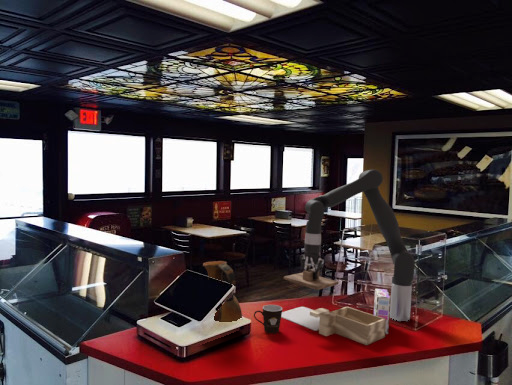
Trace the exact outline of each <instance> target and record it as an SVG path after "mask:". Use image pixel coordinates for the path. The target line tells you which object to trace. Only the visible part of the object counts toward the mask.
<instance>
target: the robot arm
mask: <svg viewBox="0 0 512 385" xmlns="http://www.w3.org/2000/svg"><path fill="white" fill-rule="evenodd" d="M383 180H384V177H383V174H382V173H381V172H380V170H377V169H373V168H371V169H369V170H364V171H362V172H360V174H359V176H358V179H356V180H353V181H352V182H348V183H347V184H344V185H342V186H341V185H340V186H339V187H337V188H335V189H332V190H330V191H329V192H327V193H325V194H323V195H320V196H317V197H314V198H311V199H310V200H308V201H307V202H306V203H305V205H304V209H305V212H306V213H307V214H308V215H309V218H308V220H307V221H306V224H305V236H304V248H303V249H304V251H303V252H304V254H300V255H299V260H300V265H301V268H302V269H304V271H305V270H310V268H311V267H312V269H313V271H314V272H313V280H316V279H317V277H318V271H319V272H321V271H322V270H323V268H324V265H325V259H322V258H321V256H320V253H321V248H322V246H321V245H322V223H323V219H324V215H325V209H329V208H333V207H335V206H337V205H339V204H341V203H344V202H345V201H347V200H349V199H351V198H352V197H355V196H356V195H359V194H361V193H363V194H364V196H365V198H366V199H367V202H368V204H369V207H370V209H371V211H372V214H373V217H374V219H375V221H376V223H377V224H376V225H377V228H378V229H379V231H380V232H381V235H382V237H383V239H384V241H385V242H386V244H387V247H388V251H389V253H390V257H391V260H392V264H393V265H394V267H393V275H392V276H391V286H390V287H391V290H390V298H391V299H390V312H389V319H391V318H392V319H391V320H393V319H394V320H393V321H396V320H397V321H396V322H401V321H406V322H409V321H410V318H411V307H412V288H413V287H412V286H413V280H414V278H415V277H414V275H415V265H416V264H415V257H414V256H413V254H412V253H411V252H409V251H408V249H407V247H406V245H405V243H404V242H403V239H402V236H401V231H400V227H399V222H398V219H397V217H396V215H395V212H394V210H393V209H392V207H391V205H390V204H389V203H388V202H387V201H386V200H385V199H384V197H383V196H382V194H381V191H380V189H379V187H380V186H381V185H382V183H383ZM408 320H409V321H408Z"/></svg>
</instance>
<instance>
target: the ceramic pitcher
mask: <svg viewBox="0 0 512 385" xmlns="http://www.w3.org/2000/svg"><path fill="white" fill-rule="evenodd" d="M202 267H204V269H205V270H206V272H207V275H208V276H209V277H208V276H207V277H208V279H209V278H210V277H212V278H215V279H218V280H221V281H223V282H224V280H223V274H224V275H225V277H226V281H227V284H228V283H230V284H233V285H234V286H235V287H236V283H237V281H236V275H235V272H234V270H233V268H232V267H231V266H230V265H229V264H228V262H227V261H224V260H217V261H215V260H214V261H206V262H203V263H202ZM240 318H242V319H243V312H242V308H241V305H240V302H239V301H238V299H237V297H236V296H235V295H234V294H233V297H232V298H230V299H229V300H227V301H226V302H225V303H224V304H223V305H222V306H221V307H220V308H219V310H218V311H217V312H216V313H215V316H214V320H215V321H219V322H232V321H237V320H238V319H240Z"/></svg>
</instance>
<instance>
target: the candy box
mask: <svg viewBox="0 0 512 385" xmlns="http://www.w3.org/2000/svg"><path fill="white" fill-rule="evenodd" d="M390 303H391V294H390V293H389V291H388V289H386V288H385V289H384V288H375V289H374V302H373V315H375V316H378V317H382V318H385V319H386V327H385V335H388V334H389V325H390Z"/></svg>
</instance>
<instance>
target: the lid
mask: <svg viewBox="0 0 512 385" xmlns="http://www.w3.org/2000/svg"><path fill="white" fill-rule="evenodd" d="M313 272H314V271H313V268H311V269H310V268H309V270H305V269H304V270H303V271H302V272H299V273H294V274H290V275H285V276H283V280H286V281H288V283H289V282H290V283H293V284H296V285H300V286H302V287H305V288H309V289H313V290H314V291H315V290H316V291H319V290H322V289H327V288H331V287H333V286H336V285H339V281H337V280H334V279H330V278H326V277H323V276H320V271H318V277H317V279H316V280H313Z"/></svg>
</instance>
